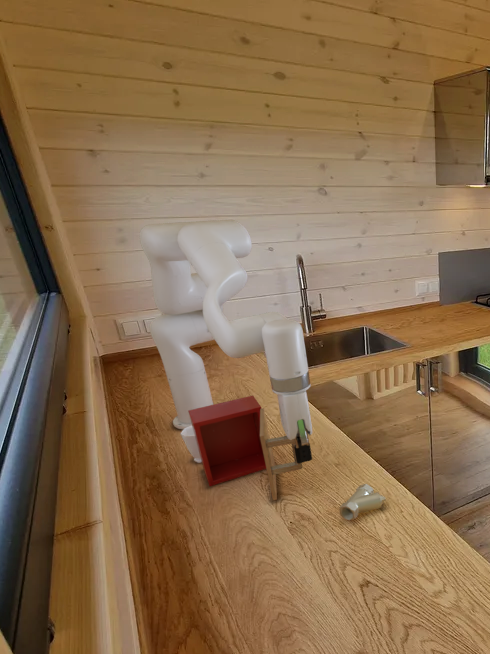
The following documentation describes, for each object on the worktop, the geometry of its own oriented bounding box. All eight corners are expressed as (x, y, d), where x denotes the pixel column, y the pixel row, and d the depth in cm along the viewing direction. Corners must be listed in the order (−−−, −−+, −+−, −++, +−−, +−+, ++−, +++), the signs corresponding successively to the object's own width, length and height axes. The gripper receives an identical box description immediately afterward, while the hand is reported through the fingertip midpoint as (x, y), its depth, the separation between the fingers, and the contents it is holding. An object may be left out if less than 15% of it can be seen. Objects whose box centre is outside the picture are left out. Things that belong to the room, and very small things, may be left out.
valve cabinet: (273, 466, 117) (261, 406, 111) (209, 486, 110) (193, 423, 104) (264, 452, 123) (253, 395, 117) (204, 470, 116) (188, 410, 110)
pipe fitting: (388, 504, 104) (360, 496, 105) (388, 489, 102) (359, 481, 104) (369, 527, 97) (339, 519, 98) (369, 512, 95) (339, 503, 97)
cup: (189, 468, 117) (181, 439, 114) (186, 450, 125) (178, 422, 122) (220, 460, 121) (213, 431, 117) (216, 443, 128) (209, 415, 125)
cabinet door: (302, 461, 119) (292, 403, 113) (306, 493, 107) (295, 429, 101) (272, 467, 117) (260, 408, 111) (272, 500, 105) (259, 436, 98)
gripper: (265, 372, 103) (279, 447, 111) (277, 398, 91) (292, 481, 98) (301, 365, 107) (312, 439, 114) (318, 390, 94) (329, 471, 101)
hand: (303, 458), depth 106 cm, fingers closed
